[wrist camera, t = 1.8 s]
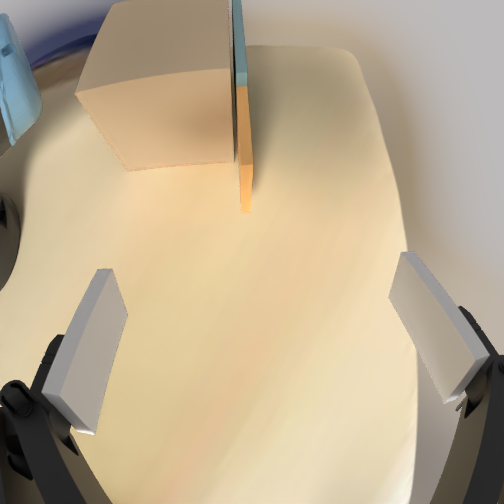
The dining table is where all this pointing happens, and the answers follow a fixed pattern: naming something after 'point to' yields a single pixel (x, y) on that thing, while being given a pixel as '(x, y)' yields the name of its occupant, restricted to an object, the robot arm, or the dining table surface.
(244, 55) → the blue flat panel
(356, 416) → the dining table surface
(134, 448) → the dining table surface
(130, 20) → the kraft box
